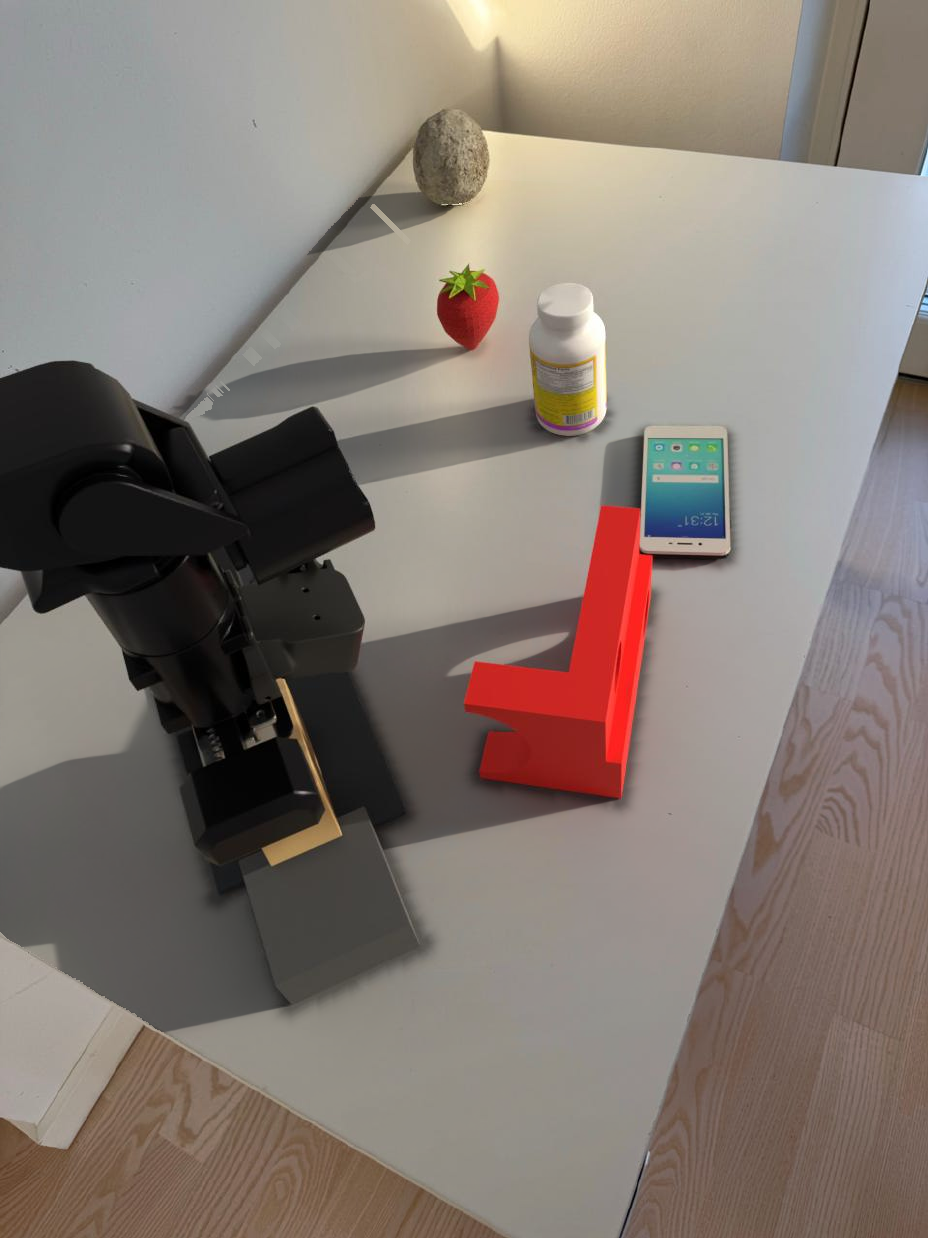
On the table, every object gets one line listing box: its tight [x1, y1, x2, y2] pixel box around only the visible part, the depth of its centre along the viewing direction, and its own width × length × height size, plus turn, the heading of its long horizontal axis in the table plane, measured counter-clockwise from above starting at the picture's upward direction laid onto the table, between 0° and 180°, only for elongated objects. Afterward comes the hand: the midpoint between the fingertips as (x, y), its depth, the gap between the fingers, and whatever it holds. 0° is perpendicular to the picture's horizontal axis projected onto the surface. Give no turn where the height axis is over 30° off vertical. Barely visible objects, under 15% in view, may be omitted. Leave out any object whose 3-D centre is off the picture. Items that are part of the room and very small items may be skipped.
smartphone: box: [639, 425, 732, 560], centre depth 85 cm, size 8×1×15 cm
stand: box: [239, 807, 421, 1005], centre depth 66 cm, size 9×9×4 cm
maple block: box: [261, 678, 342, 866], centre depth 69 cm, size 5×5×13 cm
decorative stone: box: [412, 107, 491, 207], centre depth 114 cm, size 10×8×10 cm
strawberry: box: [436, 263, 500, 351], centre depth 97 cm, size 6×8×10 cm
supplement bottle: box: [528, 282, 608, 437], centre depth 88 cm, size 7×7×13 cm
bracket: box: [463, 504, 654, 799], centre depth 72 cm, size 18×10×10 cm
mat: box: [174, 565, 407, 895], centre depth 81 cm, size 38×14×1 cm, turn 23°
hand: (261, 763), depth 60 cm, fingers closed
